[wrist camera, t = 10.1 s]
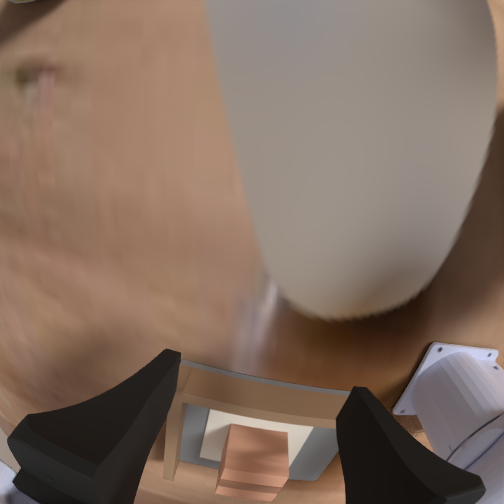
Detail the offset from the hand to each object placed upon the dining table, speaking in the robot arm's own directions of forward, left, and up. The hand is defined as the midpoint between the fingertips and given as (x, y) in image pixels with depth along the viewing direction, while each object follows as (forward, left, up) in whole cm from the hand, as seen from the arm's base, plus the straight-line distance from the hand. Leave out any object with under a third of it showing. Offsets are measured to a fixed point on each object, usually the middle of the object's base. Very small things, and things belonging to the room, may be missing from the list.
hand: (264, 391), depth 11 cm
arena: (-3, +14, -9) cm, 17 cm away
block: (-2, +15, -9) cm, 17 cm away
